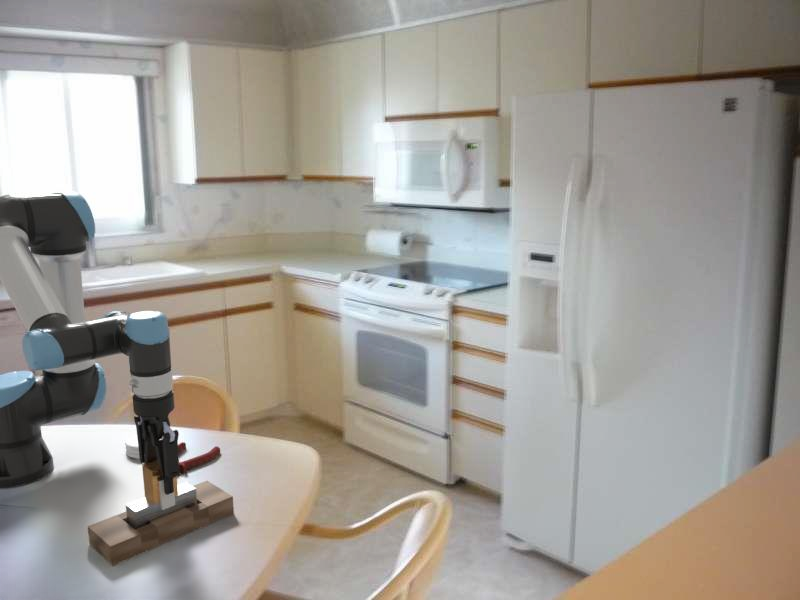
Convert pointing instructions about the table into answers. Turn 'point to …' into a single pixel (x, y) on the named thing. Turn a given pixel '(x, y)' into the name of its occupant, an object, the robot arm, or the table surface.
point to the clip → (157, 498)
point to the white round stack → (132, 447)
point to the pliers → (196, 458)
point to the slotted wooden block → (158, 526)
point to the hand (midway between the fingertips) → (162, 502)
